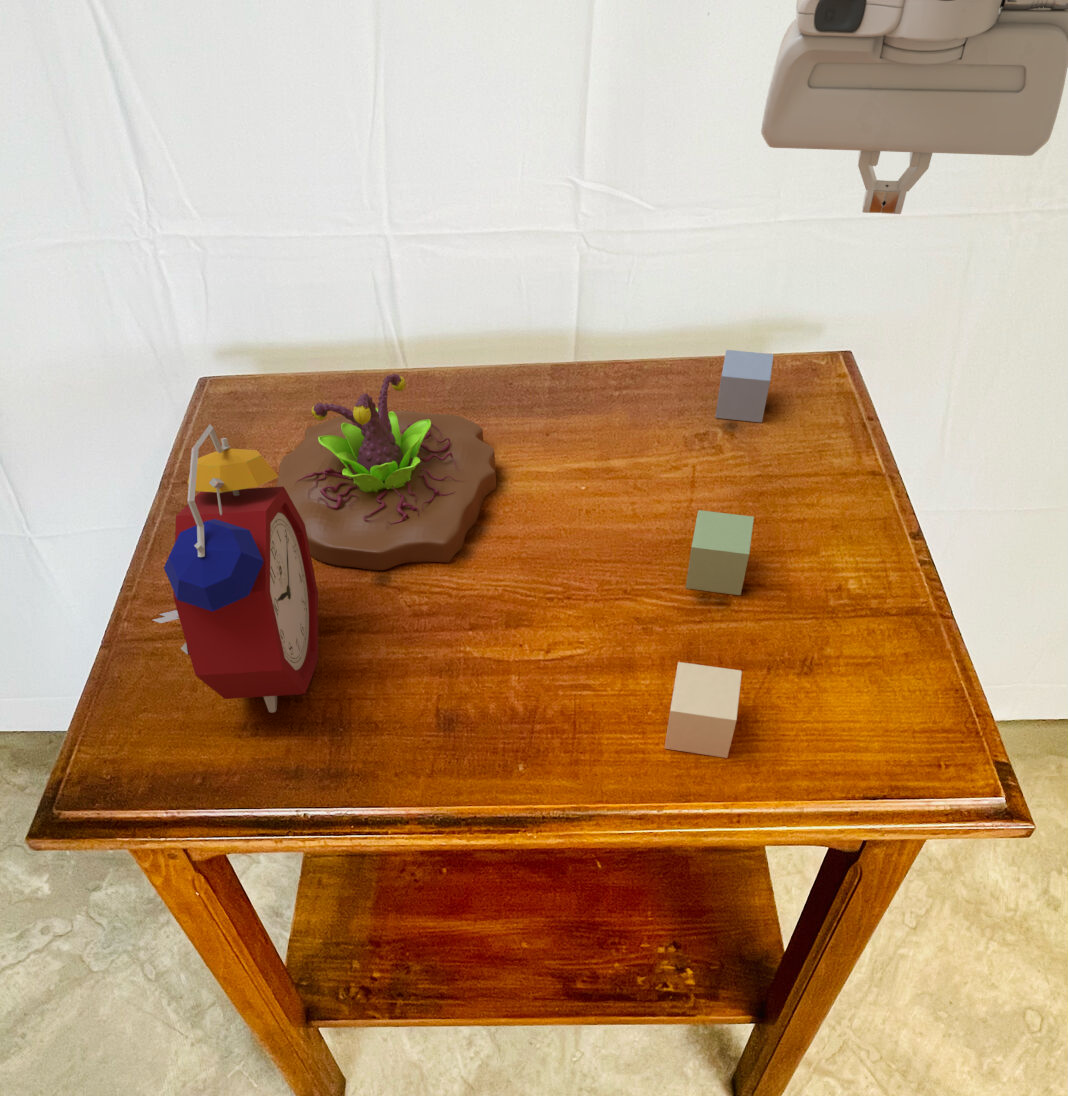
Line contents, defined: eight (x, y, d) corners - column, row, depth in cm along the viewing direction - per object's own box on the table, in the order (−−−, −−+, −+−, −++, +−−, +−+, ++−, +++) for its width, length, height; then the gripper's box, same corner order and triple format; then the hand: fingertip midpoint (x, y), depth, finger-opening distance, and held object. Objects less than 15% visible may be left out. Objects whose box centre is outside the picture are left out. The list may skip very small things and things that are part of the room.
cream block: (672, 700, 67) (678, 661, 64) (732, 709, 67) (742, 670, 63) (664, 748, 65) (670, 710, 61) (727, 758, 64) (736, 720, 60)
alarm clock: (312, 735, 67) (228, 523, 50) (196, 742, 67) (73, 532, 50) (328, 593, 75) (261, 373, 59) (225, 599, 75) (129, 381, 59)
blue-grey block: (719, 391, 90) (726, 349, 86) (765, 396, 89) (773, 353, 86) (715, 418, 87) (721, 375, 84) (761, 423, 87) (770, 380, 83)
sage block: (692, 551, 77) (698, 509, 73) (745, 558, 76) (754, 516, 72) (685, 588, 74) (691, 546, 70) (740, 595, 73) (749, 554, 70)
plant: (249, 565, 78) (206, 455, 68) (308, 428, 89) (277, 318, 80) (478, 577, 76) (465, 466, 67) (508, 436, 87) (500, 324, 78)
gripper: (1098, -29, 59) (1019, 197, 71) (783, -28, 63) (755, 187, 74) (1111, 3, 56) (1025, 236, 67) (776, 2, 60) (747, 223, 71)
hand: (881, 210), depth 71 cm, fingers closed
